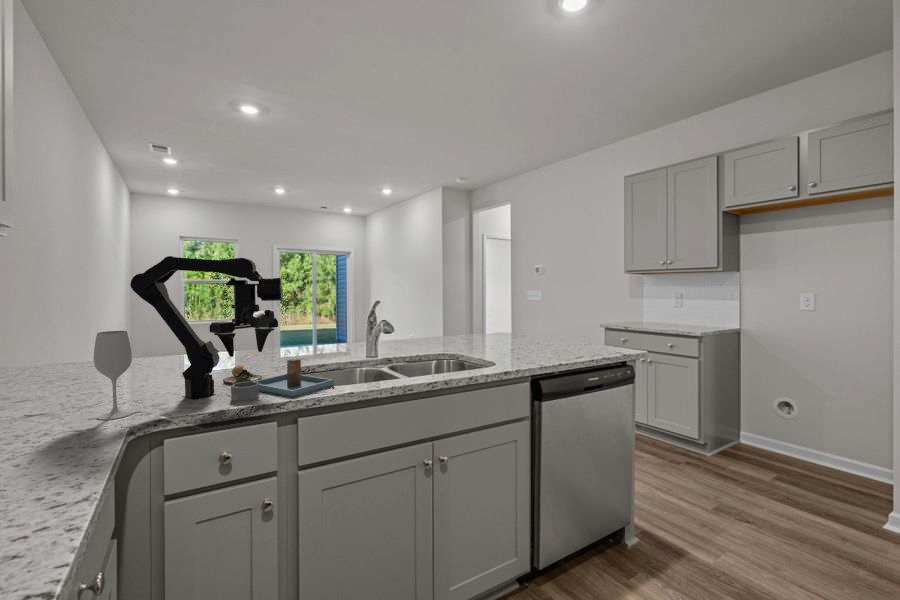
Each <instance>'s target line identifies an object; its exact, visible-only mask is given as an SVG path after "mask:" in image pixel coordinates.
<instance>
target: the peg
mask: <svg viewBox="0 0 900 600" xmlns="http://www.w3.org/2000/svg"><path fill="white" fill-rule="evenodd" d="M301 362H302V359H301V358H288V359H287V360H286V374H287V386H289V387H296V386H300V385H301V375H302V370H301V369H302V363H301Z"/></svg>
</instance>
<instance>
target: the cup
mask: <svg viewBox="0 0 900 600" xmlns="http://www.w3.org/2000/svg"><path fill="white" fill-rule="evenodd" d="M251 381H252V382H248V381H246V382H240V383H236V384H233V385H231V386H230V398H231V399H230V400H231V402H235V403H236V402H237V403H243V402H252V401H255V400H258V399H259V398H260V391H259V382H253V381H254V380H251Z"/></svg>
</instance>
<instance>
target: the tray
mask: <svg viewBox="0 0 900 600" xmlns="http://www.w3.org/2000/svg"><path fill="white" fill-rule="evenodd" d="M256 380H257V381H254V380H252V381H253V382H259V392H262V393H267V394H271V395H276V396H281V397H286V398H291V399H293V398H296V397H300V396H304V395H306V394H310V393H314V392H318V391H321V390H324V389H323V388H325V389H330V388H331V387H334V388H335V379H332V378H326V377H318V376H313V375H307V374H301V385H300V386H296V387H289V386H287V373H284V374H279V375H274V376H270V377H266V378H261V379H259V380H258V379H256ZM331 389H332V388H331Z"/></svg>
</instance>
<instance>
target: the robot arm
mask: <svg viewBox="0 0 900 600" xmlns="http://www.w3.org/2000/svg"><path fill="white" fill-rule="evenodd" d="M178 271H185V272H186V271H188V272H200V273H201V272H205V273H217V274H223V275H227V276H231V278H230V279H229V281H228V282H226V283H225V286H226V287H227V286H231V287H232V286H233V304H231V309H233V310H234V318H231V321H213V322H211V323H210V325H209V327H208V328H209V333H212V334H214V336H217V338H218V339H220V341H221V343H222V344H223V346H224V348H225V350H226V351H227V353H228V356H229V357H231V358H233V357H234V355H235V354H234V353H235V349H234V348H235V345H234V338H235V336H236V334H237V333H236V332H235V333H234V331H235V330H240V329H249V328H254V332H255V341H256V346H257V351H258V353H262V352H263V349H264V346H265V344H266V340H267V338H268V336H269V334H270V333H271V332H272V331H275V328H279V321H278V319H277V318H276V317H275V311H274V310H273V309H265V310H263V311H262V310H260V305H259V304H257V301H256V297H257V298H259V299H260V300H261V301H262V302H263V301H264V302H269V301H270V302H271V301H272V302H273V301H274V302H275V301H279V302H281V301H283V297H284V289H283V285H282V277H274V278H263V276H262V275H261V274H260V273H259V272H258V271H257V265H256V264H255V262H254V261H253V260H252V259H250V258H245V257H236V258H227V259H206V258H205V259H204V258H194V257H193V258H191V257H177V256H173V255H168V256H166V257H164V258H163V259H162V260H161V261H159V262H157V263H156V264H154V265H152V266H151V267H150V268H148V269H147V270H145V271H144V272H143V273H137V274H135V275H134V276H133V277H132V278H131V280H130V284H129V285H130V288H131V290H132V291H133V292H134V293H135V294H136V295H137V296H138V297H140V298H141V299H142V300H143V301H145V302H146V303H147V304H149V305H150V306H152V307H153V309H155V311H156V312H157V314H159V316H160V317H161V318H162V320H163V322H164V323H166V325H167V326H168V327H169V329H170V330H171V332H172V333H173V335H174V336H175V337H176V338H177V340H178V341H179V342H180V343H181V345H182V346H183V347H184V350H185V353H186V356H187V360H188V362H189V363H190V365H189V366H188V367H187V368H186V369H185V370H184V371H182V377H183V378H184V392H185V393H184V394H185V395H184V396H182V398H185V399H189V400H193V401H195V400H200V399H205V398H210V397H213V396H216V395H217V394H215V380H214V378H213V374H211V373H212V372H213V369H214V368H215V367H217V366H218V364H219V362H220V359H221V358H220V355H219V352H220V350H218V349H217V348H216V347H215V345H214V343H213V341H211V340H208V341H207V342H206V341H203V340H202V339H201V338H200V337H199V336H198V335H197V333H196V332H195V330H194V329H193V328H192V326H191V325H190V324H189V322H188V321H187V320H186V319H185V317H184V315H182V313H181V312H180V311H179V309H178V308H177V307H176V306H175V304H174V303H173V301H172V300H171V298H170V296H169V292H168V288H167V286H166V284H165V283H167V281H168V280H170V279H171V278H172V276H173V275H174V274H175V273H176V272H178ZM236 278H239V279H236ZM240 278H241V279H240ZM248 280H249V281H250V282H258V283H249V282H248Z"/></svg>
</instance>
